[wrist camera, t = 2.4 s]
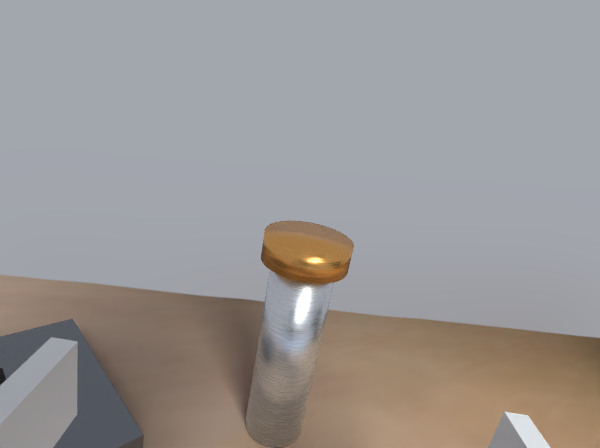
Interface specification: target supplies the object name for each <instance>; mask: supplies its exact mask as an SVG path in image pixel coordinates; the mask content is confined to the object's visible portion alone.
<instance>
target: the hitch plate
mask: <svg viewBox="0 0 600 448" xmlns="http://www.w3.org/2000/svg"><path fill="white" fill-rule="evenodd" d="M51 337H53V338H59V339H65V340H72V341H78V361H77V415H76V417H75V418H74V419H73V421H72V422H71V424H70V425H69V426H68V428H67V429H66V431H65V432H64V433H63V435H62V436H61V438H60V439H59V440H58V442H57V443H56V444H55V446H54V447H53V448H143V433H142V432H141V430H140V428H139V427H138V425H137V424H136V422H135V420H134V419H133V417H132V415H131V414H130V412H129V410H128V409H127V407H126V406H125V404H124V402H123V401H122V399H121V397H120V396H119V394H118V392H117V391H116V389H115V388H114V386H113V384H112V383H111V381H110V379H109V378H108V376H107V374H106V373H105V371H104V370H103V368H102V366H101V365H100V363H99V361H98V360H97V358H96V357H95V355H94V353H93V352H92V350H91V348H90V347H89V345H88V343H87V342H86V340H85V339H84V337H83V335H82V334H81V332H80V330H79V329H78V327H77V325H76V324H75V322H74V321H73V319H70V320H66V321H62V322H58V323H54V324H50V325H46V326H42V327H38V328H34V329H30V330H26V331H22V332H18V333H14V334H10V335H6V336H2V337H0V385H1V384H2V383H3V382H5V381H6V380H7V379H8V378H9V377H10V376H11V375H12V374H13V373H14V372H15V371H16V370H17V369H18V368H19V367H20V366H21V365H22V364H24V363H25V362H26V361H27V360H28V359H29V358H30V357H31V356H32V355H33V354H34V353H35V352H36V351H37V350H38V349H39V348H40V347H41V346H43V345H44V344H45V343H46V342H47V341H48V340H49V339H50V338H51Z"/></svg>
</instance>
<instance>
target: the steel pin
mask: <svg viewBox="0 0 600 448" xmlns="http://www.w3.org/2000/svg"><path fill="white" fill-rule="evenodd" d="M353 247H354V245H353V242H352V241H351V240H350V239H349V238H348V237H347V236H346V235H344V234H342V233H341V232H339V231H336V230H334V229H332V228H328V227H326V226H322V225H319V224H314V223H309V222H302V221H281V222H275V223H272V224H270V225H268V226H267V227H266V229H265V233H264V240H263V247H262V253H261V260H262V262H263V263H264V265H265V266H266V267H267V268H269V269H270V273H269V279H268V285H267V292H266V298H265V303H264V309H263V316H262V322H261V328H260V334H259V340H258V346H257V352H256V359H255V365H254V371H253V377H252V383H251V389H250V395H249V401H248V408H247V414H246V420H245V424H246V429H247V431H248V433H249V435H250V436H251V437H252V438H253V439H254V440H255V441H256V442H258V443H259V444H261V445H264V446H267V447H272V448H279V447H284V446H287V445H289V444H291V443H293V442H294V441H295V440H296V439H297V438H298V436H299V434H300V431H301V426H302V422H303V417H304V413H305V409H306V404H307V400H308V395H309V391H310V386H311V382H312V377H313V373H314V369H315V364H316V360H317V355H318V351H319V346H320V342H321V337H322V333H323V329H324V324H325V320H326V315H327V311H328V306H329V301H330V297H331V293H332V289H333V284H334V282H337V281H339V280H342V279H343V278H344V277H345V276H346V275H347V273H348V268H349V264H350V260H351V256H352V252H353Z"/></svg>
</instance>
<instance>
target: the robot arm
mask: <svg viewBox="0 0 600 448" xmlns="http://www.w3.org/2000/svg"><path fill="white" fill-rule="evenodd" d="M77 361H78V341H72V340H65V339H59V338H53V337H51V338H50V339H49V340H48V341H47V342H46V343H45V344H44V345H43V346H41V347H40V348H39V349H38V350H37V351H36V352H35V353H34V354H33V355H32V356H31V357H30V358H29V359H28V360H27V361H26V362H25V363H24V364H22V365H21V366H20V367H19V368H18V369H17V370H16V371H15V372H14V373H13V374H12V375H11V376H10V377H9V378H8V379H7V380H6V381H5V382H3V383H2V384H1V385H0V448H53V447H54V446H55V444H56V443H57V442H58V440H59V439H60V438H61V436H62V435H63V433H64V432H65V431H66V429H67V428H68V426H69V425H70V424H71V422H72V421H73V419H74V418H75V417H76V415H77ZM488 448H550V446H549V445H548V444H547V442H546V441H545V439H544V438H543V436H542V435H541V433H540V432H539V431H538V429H537V428H536V426H535V425H534V423H533V422H532V421H531V419H530V418H529V416H528V415H522V414H516V413H510V412H504V413H503V416H502V418H501V420H500V422H499V424H498V427H497V429H496V431H495V433H494V436H493V438H492V440H491V442H490V444H489V447H488Z"/></svg>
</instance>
